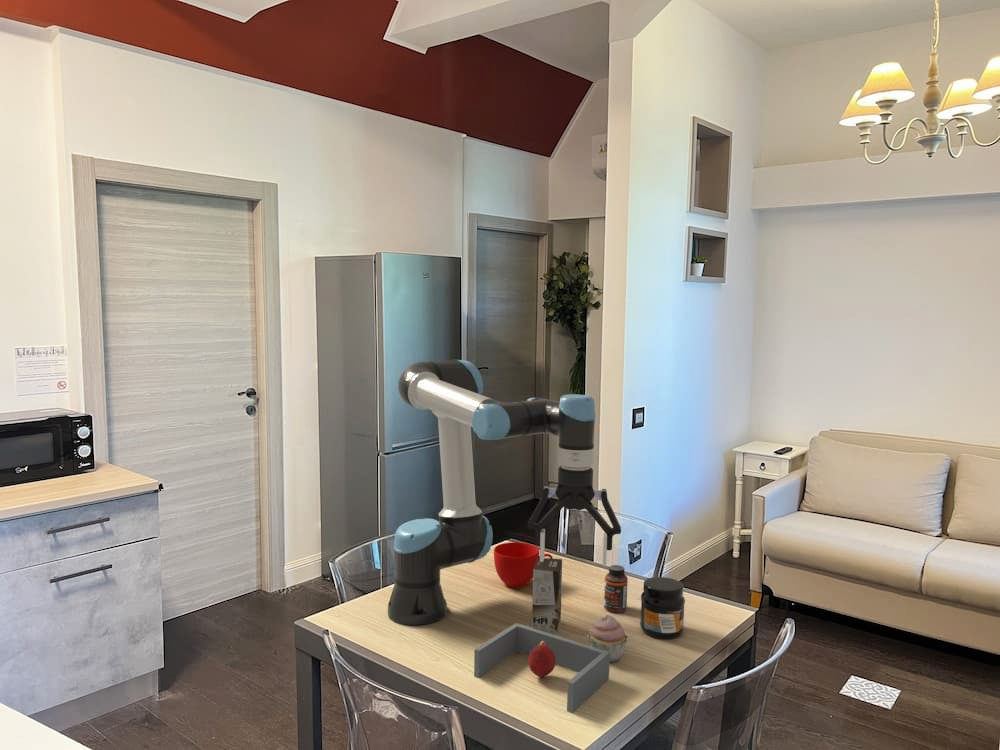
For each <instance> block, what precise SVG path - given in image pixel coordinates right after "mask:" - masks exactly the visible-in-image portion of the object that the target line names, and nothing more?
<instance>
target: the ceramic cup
mask: <svg viewBox="0 0 1000 750" xmlns="http://www.w3.org/2000/svg"><path fill="white" fill-rule="evenodd" d="M538 558H540V547H539V548H538V547H537V545H534V544H531V543H526V542H521V541H520V542H518V541H516V542H515V541H514V542H513V541H511V542H504V543H500V544H498V545H496V546H495V547H494V549H493V561H494V567H495V570H496V573H497V575H498V578H500V580H501V581H502V583H504V585H505V586H506V587H509V588H514V589H516V588H517V589H518V588H519V589H521V588H524V587H526V586H527V585H528V584H529V583H530V582H531V581H533V569H534V566H535V564H536V562H537V559H538ZM544 558H553V559H554V557H553V556H552V555H551V554H550V553H544Z"/></svg>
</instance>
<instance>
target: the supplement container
mask: <svg viewBox="0 0 1000 750" xmlns="http://www.w3.org/2000/svg"><path fill="white" fill-rule="evenodd" d="M642 589H643V591H642V593H641V595H640V600H641V602H640V603H641V604H640V605H641V606H640V623H639V624H640V629H641V631H643V632H644V633H645V634H646V635H648V636H651V637H653V638H657V639H664V640H668V639H669V640H670V639H671V640H672V639H676V638H678V637H680V636H681V635H682V634H683V632H684V629H685V625H684V623H685V622H684V621H685V619H684V618H685V604H686V599H685V597H684V585H683V583H682V582H681V581H679V580H677V579H674V578H670V577H666V576H654V577H653V576H652V577H649V578H647V579H645V580H644V581H643V588H642Z"/></svg>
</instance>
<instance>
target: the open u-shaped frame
mask: <svg viewBox="0 0 1000 750" xmlns="http://www.w3.org/2000/svg"><path fill="white" fill-rule="evenodd" d="M541 641H544V642H546V644H545V645H546V646H547V647H549V648H550V649H551V650H552V652H553V653H554V655H555V659H556V662H555V666H559V667H562V668H566V669H568V670H572V671H575V672H577V673H576V674H575V675H574V676H573V677H572V678H570V679H569V680H568V681H567V693H566V695H567V697H566V711H567V712H569V713H573V714H574V712H575V711H576V710H577V709H578V708H579V707H581V706H582V704H584V703H585V702H586V701H587V700H588V699H589V698H591V696H592V695H594V694H595V692H597V691H598V690H599V689H600V688H601V687H602V686H603V685H604V684H605V683H606V682H607V681H609V679H610V662H609V660H610V652H607V651H604V650H601V649H598V648H594V647H591V645H587V644H584V643H581V642H577V641H574V640H571V639H568V638H565V637H561V636H559V635H553V634H549V633H546V632H543V631H540V630H537V629H533V628H532V627H530V626H527V625H523V624H521V623H517V622H515V623H514V624H511V625H510V626H509V627H507V628H506V629H504V630H503V631H501V632H499V633H498V634H496V635H494V636H493V637H492V638H490V639H488V640H486V641H485V642H484V643H482V644H481V645H479V646H477V647H475V648H474V654H473V655H474V660H473V661H474V662H473V663H474V664H473V667H474V670H473V672H474V673H473V675H474V677H476V678H480V677H482V676H483V675H485V674H487V672H489V671H490V670H492V669H494V668H495V667H496V666H498V665H499V664H501V663H502V662H503V661H505V660H506V659H508V658H509V657H511V656H513V655H514V654H516V653H517V652H519V653H521V654H523V655H526V656H529V655H530V652H531V651H532V650H533V649H534V648H535V647H536V646H538V645H539V644H540V643H541Z"/></svg>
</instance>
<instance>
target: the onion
mask: <svg viewBox="0 0 1000 750" xmlns="http://www.w3.org/2000/svg"><path fill="white" fill-rule="evenodd" d="M545 644H546V642H544V641H541V643H540V644H539V645H538V646H536V647H535V648H534V649H533V650H532V651H531V652H530V655H528V659H527V664H528V666H529V667H528V668H529V670H530V671H531V672H532V674H534V675H535V676H537V677H538V678H540V679H543V678H545V677H547V676H548V675H549V674H551V673H552V672H553V670H554V669H555V667H556V664H555V662H556V659H555V655H554V653H553V652H552V650H551V649H550V648H549V647H547V646H546V645H545Z"/></svg>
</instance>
